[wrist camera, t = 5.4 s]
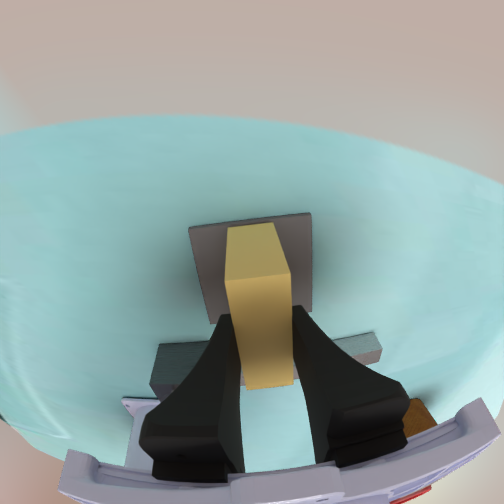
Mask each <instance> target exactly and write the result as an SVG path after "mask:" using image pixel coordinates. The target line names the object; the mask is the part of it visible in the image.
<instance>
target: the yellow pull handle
mask: <svg viewBox="0 0 504 504" xmlns="http://www.w3.org/2000/svg"><path fill="white" fill-rule="evenodd" d="M225 287H226V292H227V297H228V302H229V308H230V313H231V318H232V323H233V326H234V331H235V336H236V341H237V346H238V351H239V356H240V360H241V366H242V371H243V376H244V380H245V385H246V389H247V390H253V389H263V388H271V387H279V386H286V385H293V384H294V383H293V340H292V296H291V273H290V270H289V267H288V264H287V261H286V258H285V255H284V252H283V250H282V247H281V244H280V241H279V238H278V235H277V232H276V229H275V227H274V224H273V222H271V223H262V224H254V225H245V226H237V227H229V228H228V231H227V247H226V263H225Z"/></svg>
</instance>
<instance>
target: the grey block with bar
mask: <svg viewBox="0 0 504 504" xmlns="http://www.w3.org/2000/svg"><path fill="white" fill-rule="evenodd" d="M208 342H209V341H204V342H190V343H173V344H159V347H158V351H157V355H156V359H155V363H154V367H153V371H152V375H151V379H150V383H149V385H150V386H151V388H152V390H153V391H154V393H155V394H156V396H157V398H158V399H159V401H160V402H162V401H163V400H165V399H166V398H167V397H168V396H169V395H170V394H171V393H172V392H173V391H174V390H175V389H176V388H177V387H178V386H179V385H180V383H181V382H182V381H183V380H184V379H185V377H186V376H187V375H188V374H189V372H190V371H191V370H192V368H193V367H194V366H195V364H196V363H197V361H198V360H199V358H200V356H201V355H202V353H203V351H204V350H205V348H206V346H207V344H208ZM333 342H334V343H335V344H336V345H337V346H338V347H340V348H341V349H342V350H343V351H345V352H346V353H347V354H348V355H350V356H351V357H352V358H354V359H355V360H357V361H358V362H360V363H361V364H363V365H368V364H372V363H376V362H379V359H380V356H381V352H382V349H383V348H382V347H381V345H380V343H379V341H378V339H377V337H376V336H375V334H374V332H371V333H367V334H362V335H358V336H353V337H348V338H343V339H338V340H333ZM293 379H299V376H298V372H297V369H296V366H295V363H294V359H293ZM240 386H245V380H244V376H243V371H242V366H241V380H240Z"/></svg>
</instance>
